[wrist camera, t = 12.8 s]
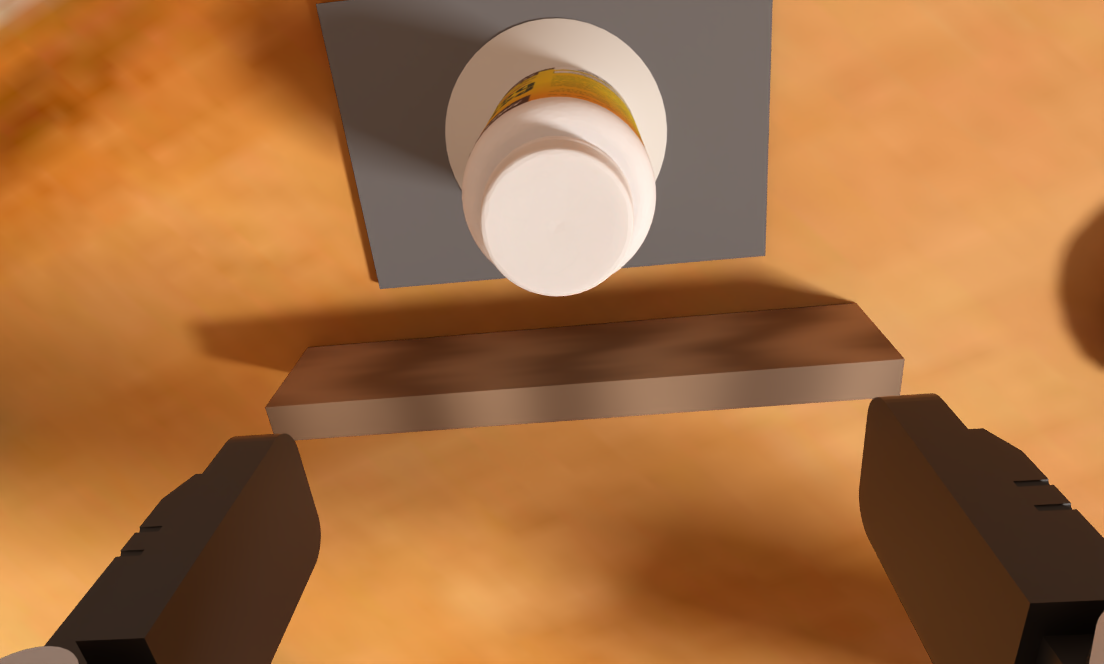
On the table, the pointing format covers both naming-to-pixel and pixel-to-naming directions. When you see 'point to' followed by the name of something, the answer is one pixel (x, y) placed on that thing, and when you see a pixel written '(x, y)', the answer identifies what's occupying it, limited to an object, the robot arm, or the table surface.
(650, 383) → the brown wooden plank
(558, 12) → the mat
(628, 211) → the supplement bottle
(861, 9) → the table surface
